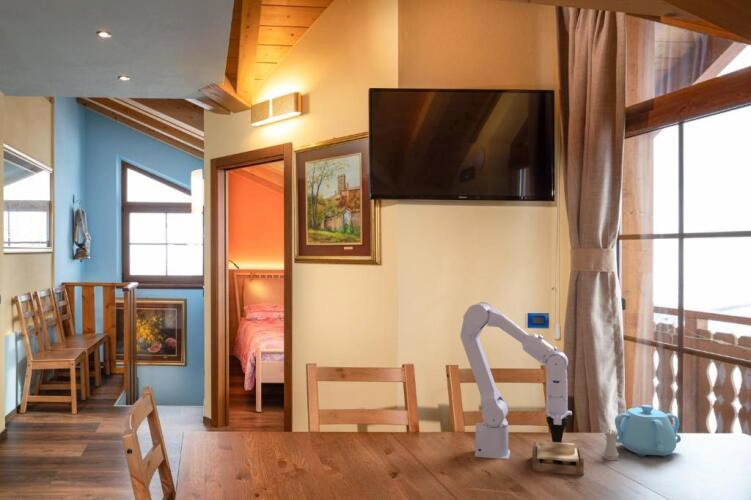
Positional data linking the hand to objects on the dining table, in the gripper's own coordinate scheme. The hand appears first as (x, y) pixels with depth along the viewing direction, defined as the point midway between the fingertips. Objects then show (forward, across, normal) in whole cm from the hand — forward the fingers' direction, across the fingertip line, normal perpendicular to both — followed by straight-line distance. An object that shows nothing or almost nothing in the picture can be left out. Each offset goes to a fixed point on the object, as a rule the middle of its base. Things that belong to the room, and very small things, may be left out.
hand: (556, 443), depth 173 cm
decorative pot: (+6, +17, -26) cm, 32 cm away
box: (+5, -4, 0) cm, 7 cm away
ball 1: (+5, -6, +2) cm, 8 cm away
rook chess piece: (+5, +7, -15) cm, 17 cm away
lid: (+1, -5, 0) cm, 5 cm away
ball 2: (+5, -3, -2) cm, 6 cm away
